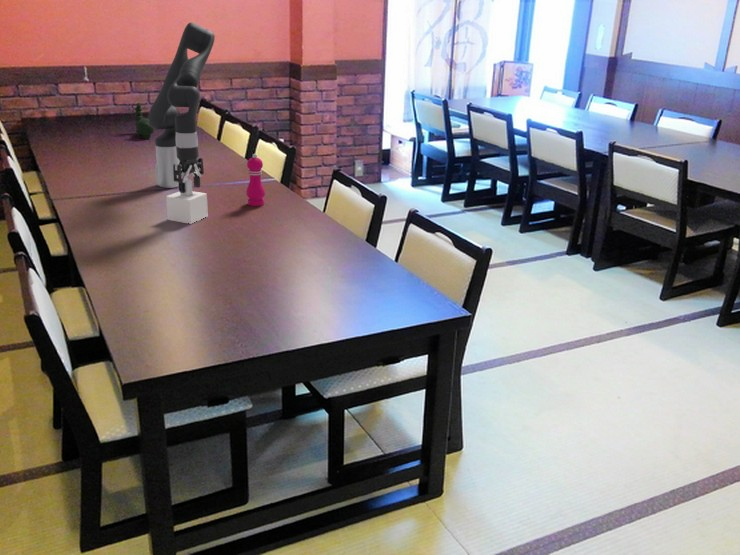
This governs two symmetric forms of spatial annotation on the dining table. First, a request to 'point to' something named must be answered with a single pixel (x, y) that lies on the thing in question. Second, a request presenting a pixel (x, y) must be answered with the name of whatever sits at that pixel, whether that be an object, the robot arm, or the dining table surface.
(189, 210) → the white cube bottle
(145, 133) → the toy figurine
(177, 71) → the robot arm
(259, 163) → the pepper mill
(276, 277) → the dining table surface
